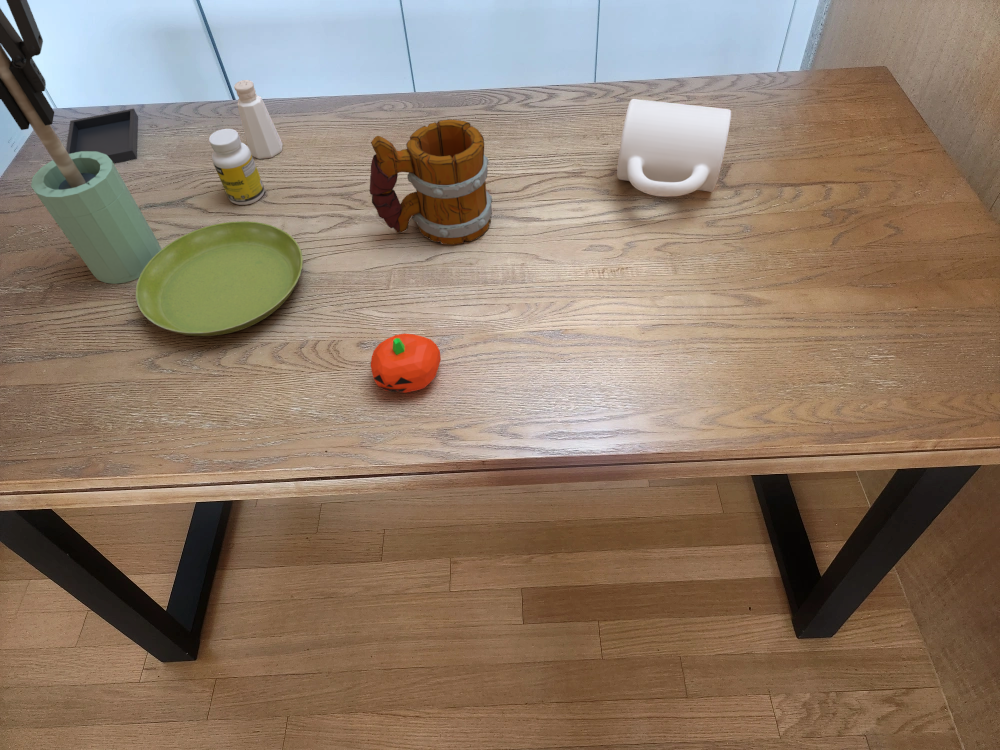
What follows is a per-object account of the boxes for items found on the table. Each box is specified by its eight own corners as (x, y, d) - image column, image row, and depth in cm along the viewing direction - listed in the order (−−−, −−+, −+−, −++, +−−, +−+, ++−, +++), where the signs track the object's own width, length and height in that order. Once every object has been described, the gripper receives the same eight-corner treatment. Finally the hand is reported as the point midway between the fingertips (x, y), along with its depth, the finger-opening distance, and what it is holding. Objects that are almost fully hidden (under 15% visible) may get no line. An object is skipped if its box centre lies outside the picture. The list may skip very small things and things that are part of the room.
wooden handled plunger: (74, 225, 83) (-60, 27, 64) (77, 203, 85) (-51, 8, 67) (113, 217, 83) (-9, 19, 65) (114, 196, 86) (-2, 0, 67)
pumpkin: (451, 388, 75) (445, 352, 70) (383, 410, 74) (372, 374, 69) (433, 344, 79) (426, 306, 74) (368, 364, 78) (356, 327, 73)
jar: (90, 290, 88) (27, 204, 77) (94, 247, 93) (35, 160, 82) (162, 274, 89) (110, 186, 78) (161, 232, 95) (113, 144, 84)
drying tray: (138, 161, 106) (132, 150, 104) (70, 175, 104) (63, 164, 102) (139, 119, 114) (133, 108, 112) (76, 131, 112) (70, 120, 110)
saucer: (258, 365, 78) (249, 348, 76) (113, 331, 83) (100, 314, 80) (335, 252, 90) (329, 233, 88) (204, 227, 95) (195, 209, 92)
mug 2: (625, 151, 102) (634, 83, 94) (716, 163, 100) (734, 93, 91) (607, 218, 93) (614, 149, 84) (707, 232, 90) (725, 163, 81)
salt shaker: (255, 163, 104) (230, 97, 95) (245, 147, 107) (220, 81, 98) (288, 152, 106) (266, 86, 97) (277, 136, 109) (255, 70, 100)
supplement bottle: (221, 201, 98) (195, 143, 91) (243, 181, 101) (219, 122, 94) (251, 209, 97) (227, 150, 89) (272, 188, 100) (251, 129, 92)
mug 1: (505, 235, 91) (501, 137, 79) (388, 263, 89) (366, 166, 77) (482, 190, 98) (475, 93, 86) (372, 215, 95) (350, 119, 83)
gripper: (-239, -108, 53) (-40, 152, 71) (-37, -134, 55) (105, 125, 74) (-209, -135, 57) (-28, 117, 76) (-23, -158, 60) (108, 92, 78)
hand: (37, 120), depth 75 cm, fingers closed on wooden handled plunger, 2 cm apart
